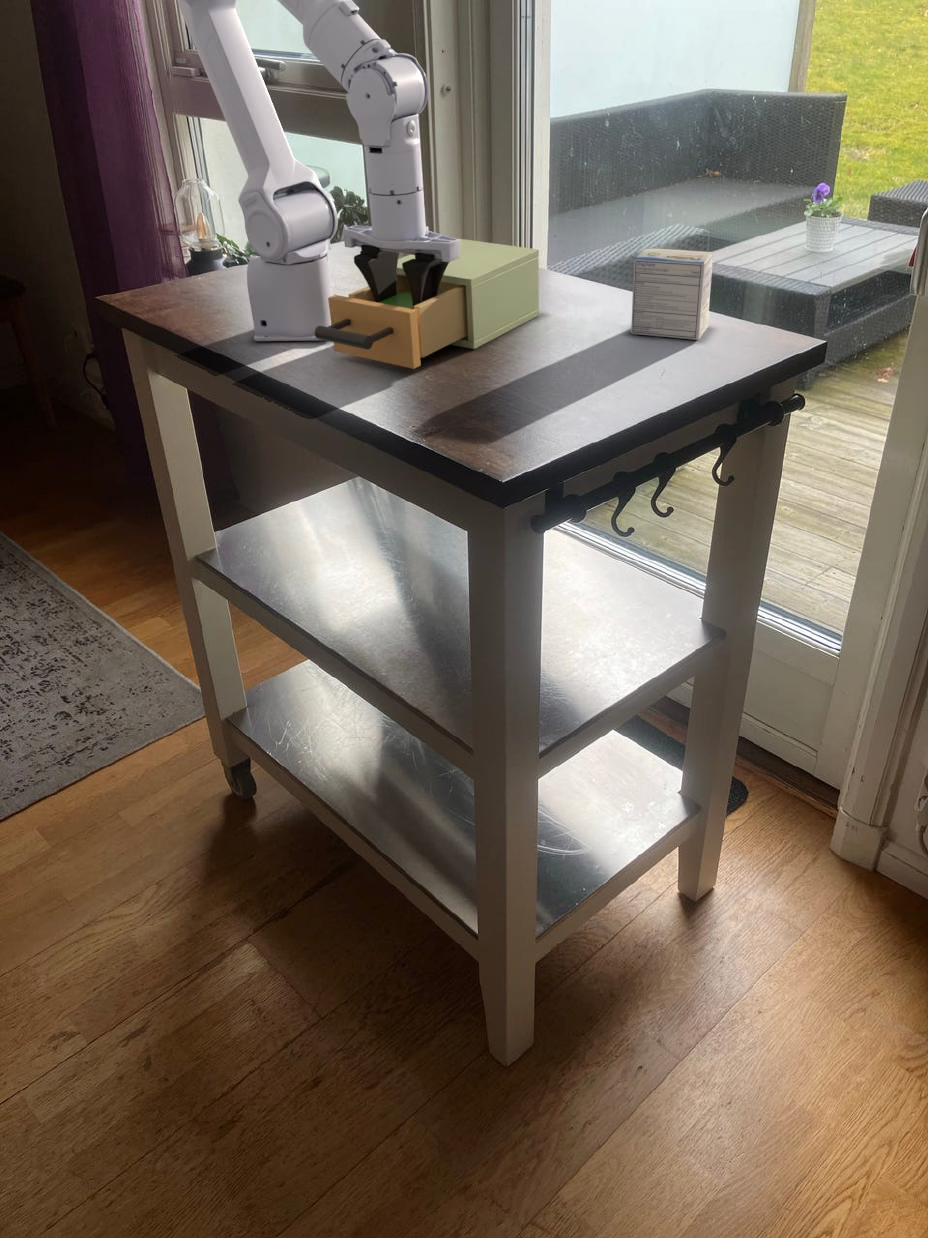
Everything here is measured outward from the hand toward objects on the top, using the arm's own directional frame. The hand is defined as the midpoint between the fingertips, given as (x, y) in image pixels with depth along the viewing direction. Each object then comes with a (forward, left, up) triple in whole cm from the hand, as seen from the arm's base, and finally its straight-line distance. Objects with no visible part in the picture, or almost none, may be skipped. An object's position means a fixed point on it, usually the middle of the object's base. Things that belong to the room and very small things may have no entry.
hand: (406, 319), depth 112 cm
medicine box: (+29, +5, -4) cm, 30 cm away
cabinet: (+5, +9, -4) cm, 11 cm away
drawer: (-1, -2, -3) cm, 4 cm away
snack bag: (0, 0, -1) cm, 1 cm away
